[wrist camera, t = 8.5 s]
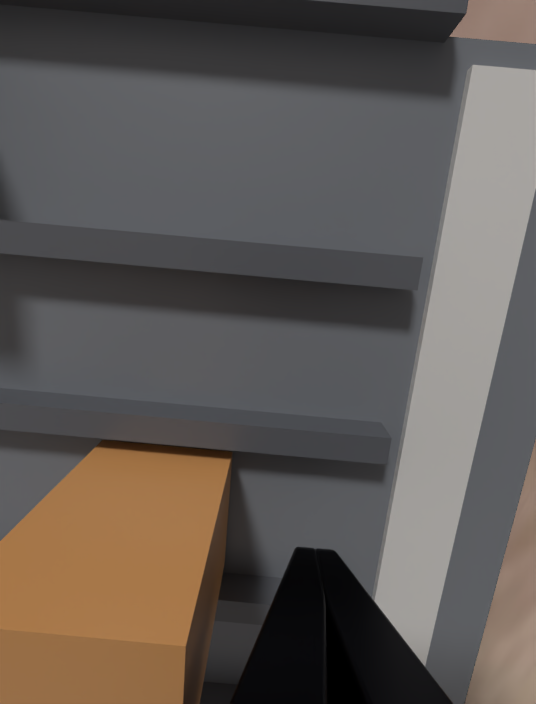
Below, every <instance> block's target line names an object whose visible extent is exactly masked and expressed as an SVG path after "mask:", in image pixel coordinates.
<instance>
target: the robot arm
mask: <svg viewBox="0 0 536 704" xmlns="http://www.w3.org/2000/svg"><path fill="white" fill-rule="evenodd" d="M230 704H453V702H452V701H451V700H450V698H449V697H448V696H447V695H446V693H445V692H444V691H443V689H442V688H441V687H440V686H439V684H438V683H437V682H436V680H435V679H434V678H433V676H432V675H431V674H430V673H429V671H428V670H427V669H426V667H425V666H424V665H423V663H422V662H421V661H420V660H419V658H418V657H417V656H416V654H415V653H414V652H413V650H412V649H411V648H410V647H409V645H408V644H407V643H406V641H405V640H404V639H403V638H402V636H401V635H400V634H399V632H398V631H397V630H396V628H395V627H394V626H393V625H392V623H391V622H390V621H389V619H388V618H387V617H386V615H385V614H384V613H383V612H382V610H381V609H380V608H379V606H378V605H377V604H376V602H375V601H374V600H373V599H372V597H371V596H370V595H369V593H368V592H367V591H366V590H365V588H364V587H363V586H362V584H361V583H360V582H359V580H358V579H357V578H356V577H355V575H354V574H353V573H352V571H351V570H350V569H349V567H348V566H347V565H346V564H345V562H344V561H343V560H342V558H341V557H340V556H339V554H338V553H337V552H336V551H335V550H332V549H322V548H316V549H314V548H310V547H299V546H298V547H296V548H295V549H294V551H293V554H292V556H291V558H290V561H289V563H288V566H287V568H286V570H285V573H284V575H283V577H282V580H281V582H280V585H279V587H278V589H277V592H276V594H275V596H274V599H273V601H272V604H271V606H270V608H269V611H268V613H267V615H266V618H265V620H264V622H263V625H262V627H261V630H260V632H259V634H258V637H257V639H256V641H255V644H254V646H253V649H252V651H251V653H250V656H249V658H248V660H247V663H246V665H245V668H244V670H243V672H242V675H241V677H240V679H239V682H238V684H237V687H236V689H235V691H234V694H233V696H232V698H231V701H230Z"/></svg>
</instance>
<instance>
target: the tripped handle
mask: <svg viewBox="0 0 536 704" xmlns="http://www.w3.org/2000/svg"><path fill="white" fill-rule="evenodd" d="M232 453H233V452H230V451H219V450H208V449H197V448H186V447H175V446H164V445H153V444H142V443H131V442H121V441H110V440H102V441H101V442H100V443H99V444H98V445H97V446H96V447H95V448H94V449H93V450H92V451H91V452H90V453H89V454H88V455H87V456H86V457H85V458H84V459H83V460H82V461H81V462H80V463H79V464H78V465H77V466H76V467H75V468H74V469H73V470H72V471H71V472H70V473H69V474H68V475H67V476H66V477H65V478H64V479H63V480H62V481H61V482H60V483H59V484H57V485H56V486H55V487H54V488H53V489H52V490H51V491H50V492H49V493H48V494H47V495H46V496H45V497H44V498H43V499H42V500H41V501H40V502H39V503H38V504H37V505H36V506H35V507H34V508H33V509H32V510H31V511H30V512H29V513H28V514H27V515H26V516H25V517H24V518H23V519H22V520H21V521H20V522H19V523H18V524H17V525H16V526H15V527H14V528H13V529H12V530H11V531H10V532H9V533H8V534H7V535H6V536H5V537H4V538H3V539H2V540H1V541H0V704H200V698H201V693H202V687H203V682H204V676H205V670H206V665H207V659H208V653H209V648H210V642H211V637H212V631H213V625H214V620H215V614H216V608H217V603H218V597H219V591H220V586H221V580H222V575H223V569H224V563H225V551H226V537H227V523H228V509H229V495H230V481H231V467H232Z"/></svg>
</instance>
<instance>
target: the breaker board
mask: <svg viewBox="0 0 536 704" xmlns="http://www.w3.org/2000/svg"><path fill="white" fill-rule="evenodd" d="M467 5H468V0H0V541H1V540H2V539H3V538H4V537H5V536H6V535H7V534H8V533H9V532H10V531H11V530H12V529H13V528H14V527H15V526H16V525H17V524H18V523H19V522H20V521H21V520H22V519H23V518H24V517H25V516H26V515H27V514H28V513H29V512H30V511H31V510H32V509H33V508H34V507H35V506H36V505H37V504H38V503H39V502H40V501H41V500H42V499H43V498H44V497H45V496H46V495H47V494H48V493H49V492H50V491H51V490H52V489H53V488H54V487H55V486H56V485H57V484H59V483H60V482H61V481H62V480H63V479H64V478H65V477H66V476H67V475H68V474H69V473H70V472H71V471H72V470H73V469H74V468H75V467H76V466H77V465H78V464H79V463H80V462H81V461H82V460H83V459H84V458H85V457H86V456H87V455H88V454H89V453H90V452H91V451H92V450H93V449H94V448H95V447H96V446H97V445H98V444H99V443H100V442H101V441H102V440H110V441H121V442H131V443H142V444H153V445H164V446H175V447H186V448H197V449H208V450H219V451H230V452H233V453H232V467H231V481H230V495H229V509H228V523H227V537H226V551H225V563H224V569H223V575H222V580H221V586H220V591H219V597H218V603H217V608H216V614H215V620H214V625H213V631H212V637H211V642H210V648H209V653H208V659H207V665H206V670H205V676H204V682H203V687H202V693H201V698H200V704H230V701H231V698H232V696H233V694H234V691H235V689H236V687H237V684H238V682H239V679H240V677H241V675H242V672H243V670H244V668H245V665H246V663H247V660H248V658H249V656H250V653H251V651H252V649H253V646H254V644H255V641H256V639H257V637H258V634H259V632H260V630H261V627H262V625H263V622H264V620H265V618H266V615H267V613H268V611H269V608H270V606H271V604H272V601H273V599H274V596H275V594H276V592H277V589H278V587H279V585H280V582H281V580H282V577H283V575H284V573H285V570H286V568H287V566H288V563H289V561H290V558H291V556H292V554H293V551H294V549H295V548H296V547H298V546H299V547H310V548H314V549H316V548H322V549H332V550H335V551H336V552H337V553H338V554H339V556H340V557H341V558H342V560H343V561H344V562H345V564H346V565H347V566H348V567H349V569H350V570H351V571H352V573H353V574H354V575H355V577H356V578H357V579H358V580H359V582H360V583H361V584H362V586H363V587H364V588H365V590H366V591H367V592H368V593H369V595H370V596H371V597H372V599H373V600H374V601H375V602H376V604H377V605H378V606H379V608H380V609H381V610H382V612H383V613H384V614H385V615H386V617H387V618H388V619H389V621H390V622H391V623H392V625H393V626H394V627H395V628H396V630H397V631H398V632H399V634H400V635H401V636H402V638H403V639H404V640H405V641H406V643H407V644H408V645H409V647H410V648H411V649H412V650H413V652H414V653H415V654H416V656H417V657H418V658H419V660H420V661H421V662H422V663H423V665H424V666H425V667H426V669H427V670H428V671H429V673H430V674H431V675H432V676H433V678H434V679H435V680H436V682H437V683H438V684H439V686H440V687H441V688H442V689H443V691H444V692H445V693H446V695H447V696H448V697H449V698H450V700H451V701H452V702H453V704H464V703H465V699H466V695H467V692H468V688H469V684H470V680H471V677H472V673H473V669H474V666H475V662H476V658H477V654H478V651H479V647H480V643H481V640H482V636H483V632H484V628H485V625H486V621H487V617H488V614H489V610H490V606H491V602H492V599H493V595H494V591H495V588H496V584H497V580H498V576H499V573H500V569H501V565H502V562H503V558H504V554H505V550H506V547H507V543H508V539H509V536H510V532H511V528H512V524H513V521H514V517H515V513H516V510H517V506H518V502H519V498H520V495H521V491H522V487H523V484H524V480H525V476H526V472H527V469H528V465H529V461H530V458H531V454H532V450H533V446H534V443H535V439H536V44H527V43H516V42H504V41H493V40H481V39H470V38H458V37H449V36H450V34H451V33H452V32H453V30H454V29H455V28H456V26H457V25H458V24H459V22H460V21H461V20H462V18H463V17H464V16H465V14H466V11H467Z"/></svg>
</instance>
